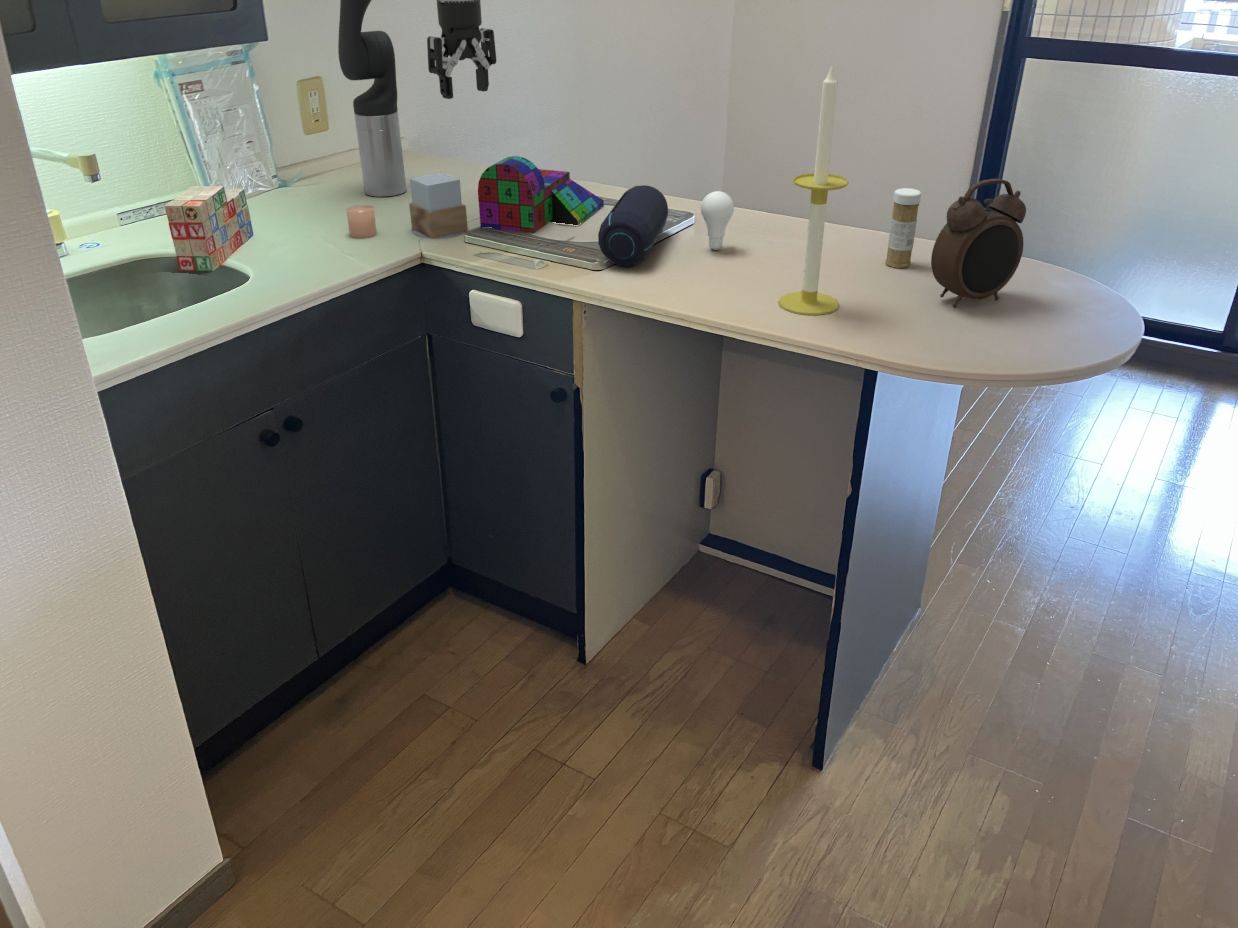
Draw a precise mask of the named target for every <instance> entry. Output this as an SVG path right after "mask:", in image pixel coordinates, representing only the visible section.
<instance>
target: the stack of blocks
mask: <svg viewBox="0 0 1238 928" xmlns="http://www.w3.org/2000/svg"><path fill="white" fill-rule="evenodd" d="M164 208H165V209H164V210H165V214H166V217H167V222H168V228H169V232H170V235H171V239H172V242H173V247H174V252H175V255H176V256H175V258H176V261H177V264H178V268H179V271H180V272H214V271H215V270H216V269H218V268H219V267H220V266H222V265H223V264H224V263H225V262H226V261H227V260H228V259H229V258H231V256H233V254H234V253H235V252H236V251H238V249H239V248H240V247H242V246H243V245H244V244H245V243H246V242H247V241H248V240H249V239H251V238H252V237H253V236H254V229H253V225H252V224H253V223H252V219H251V213H250V209H249V205H248V202H247V197H246V192H245V189H244V188H225V186H223V185H219V186H218V185H217V186H215V185H213V186H212V185H211V186H210V185H205V186H201V185H200V186H196V185H194V186H193V185H192V186H190V187H189V188H187V189H186V190H185V191H183V192H182V193H181V194H180V195H178V196H176V197H175V198H174V199H172V200H171V201H169V202H168V203H166V204H165V205H164ZM252 235H253V236H252Z"/></svg>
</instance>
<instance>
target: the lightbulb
mask: <svg viewBox="0 0 1238 928" xmlns="http://www.w3.org/2000/svg"><path fill="white" fill-rule="evenodd" d="M734 211H735V204H734V201H733V199H732V197H731V196H730V195H729V194H728V193H726V192H724V191H719V190H715V191H712V192H710V193H708V194H707V195H706V196H705V197H704V198H703V199H702V201H701V204H700V213H701V216H702V217H703V220H704V223H705V224H706V228H707V236H708V247H709V248H711V249H712V250H714V251H717V250H719V249H721V248H722V247H723V242H724V237H725V233H726V228H727V226H728V223H729V222H730V220H731V218H732V217H733V214H734Z"/></svg>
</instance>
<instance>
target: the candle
mask: <svg viewBox="0 0 1238 928" xmlns="http://www.w3.org/2000/svg"><path fill="white" fill-rule="evenodd" d="M837 90H838V81H837V79H836V77H835V72H834V67H833V65H831V67H830V68H829V70H828V72H827V75H826V77H825V79H824V80H823V81H822V89H821V99H820V100H821V101H820V110H819V122H818V130H817V131H818V133H817V140H816V141H817V143H816V153H815V163H814V164H815V165H814V172H813V173H805V174H799V175H796V176H794V178H792V182H793V184H794V185H795V186H797V187H799V188H801V189H802V188H803V189H806V190H811V192H810V202H809V215H808V226H807V236H806V246H805V256H804V257H805V258H804V269H803V277H802V291H794V292H788V293H786V294H784V295H782V296H780V298H779V299H778V301H777V302H778V305H779V307H780V308H782V309H783V310H785V311H787V312H790V313H793V314H797V315H802V316H803V315H804V316H822V315H823V316H824V315H830V314H832V313H834V312H836V311H838V310H839V308H840V303H839V301H838V299H837V298H836V297H833V296H831V295H829V294H825V293H822V292H818V291H819V282H820V281H819V280H820V271H821V263H822V262H821V261H822V251H823V244H824V243H823V242H824V232H825V221H826V213H827V212H826V211H827V203H828V192H829V191H836V190H841V189H843V188H846V187H847V186H848V184H849V180H848V179H847V178H846V177H843V176H840V175H836V174H829V170H830V160H831V152H832V151H831V150H832V141H833V132H834V131H833V130H834V121H835V112H836V111H835V110H836V101H837V92H838V91H837Z"/></svg>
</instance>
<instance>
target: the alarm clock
mask: <svg viewBox="0 0 1238 928" xmlns="http://www.w3.org/2000/svg"><path fill="white" fill-rule="evenodd" d="M993 184H1002V185H1004V187H1005V191H1006V193H1003V194H999V195H997V196H996V197H994V198H986V199H984V200H983V204H984V205H986V206H983V204H982V203H981V202H980V201H979V200H978V199H976V198H973V197H971V196H973V194H974V192H975V191H976V190H977V189H979V188H981V187H983V186H988V185H993ZM1020 196H1021V191H1020V190H1017V191H1015V192H1014V191H1013V187H1012V184H1011V183H1010V182H1009V181H1008V180H1006V179H1000V178H990V179H984V180H980V181H977V182H975V183H974V184H972V185H971V186H969V188H968V189H967V191H966V192H965V194H964V196H958V200H955V201H954V202H953V203H952V204H950V206H949V207H948V209H947V212H946V223H945V225H944V226H943V227H942V229H941V230H940V231H939V233H938V235H937V237H936V238H935V239H936V240H935V242H934V245H933V247H932V252H931V260H930V264H931V272H932V274H933V277H934V279H935V280H936V282H937V283H938V285H940V286H941V287H943V288H944V289H943V291H942V293H941V294H940V295H939V297H940V298H944V297H945V295H946V294H947V292H948V291H949V292H950V293H952V294H954V295H957V297H956V299H955V302H954V304H953V303H952V307H953V308H954V309H955V308H957V307H958V304H960V302H961V301H962V300H963V298H965V299H969V300H974V301H980V300H984V299H988V298H990V297H992V296H994V300H995V301H999V300H1000V297H999V295H998V292H999V291H1001V289H1003V288H1004V287H1005V286H1006V285H1007V284H1008V283H1009V282H1010V280H1011V279H1012V278H1013V276H1014V275H1015V273H1016V271H1017V270H1018V267H1019V265H1020V262H1021V259H1022V255H1023V252H1024V235H1023V231H1022V229H1021V227H1020V225H1019V224H1022V223H1023V222H1024V219H1025V218H1026V213H1027V206H1026V204H1025V202H1024V201H1023V200H1022V199H1020Z"/></svg>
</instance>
